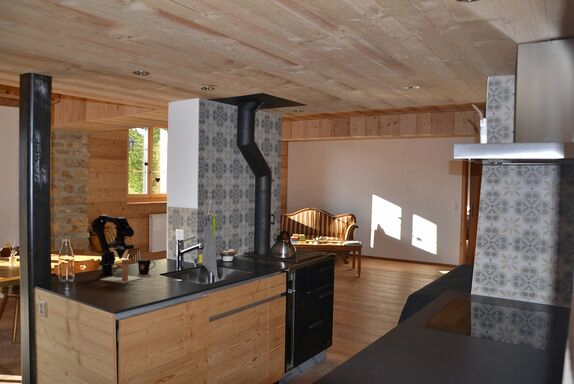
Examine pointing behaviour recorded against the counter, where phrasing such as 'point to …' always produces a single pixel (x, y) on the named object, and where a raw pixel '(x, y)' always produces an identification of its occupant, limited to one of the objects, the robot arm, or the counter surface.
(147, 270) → the coffee mug
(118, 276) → the board
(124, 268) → the marker
